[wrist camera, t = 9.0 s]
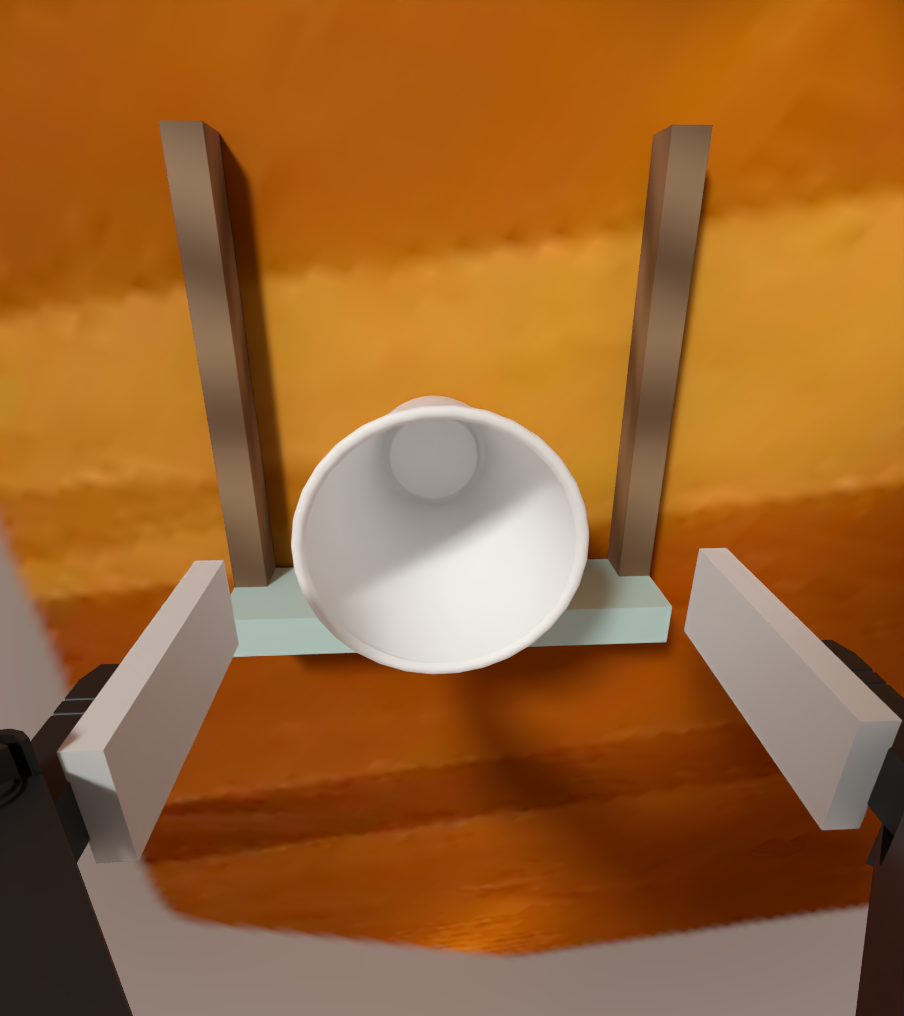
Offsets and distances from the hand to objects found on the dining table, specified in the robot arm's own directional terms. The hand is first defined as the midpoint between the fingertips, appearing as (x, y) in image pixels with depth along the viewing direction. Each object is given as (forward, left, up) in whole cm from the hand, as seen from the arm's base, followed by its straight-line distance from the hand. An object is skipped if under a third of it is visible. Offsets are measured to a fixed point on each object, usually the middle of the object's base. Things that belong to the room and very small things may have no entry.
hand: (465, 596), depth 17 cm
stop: (+7, 0, -14) cm, 16 cm away
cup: (0, -1, -14) cm, 14 cm away
